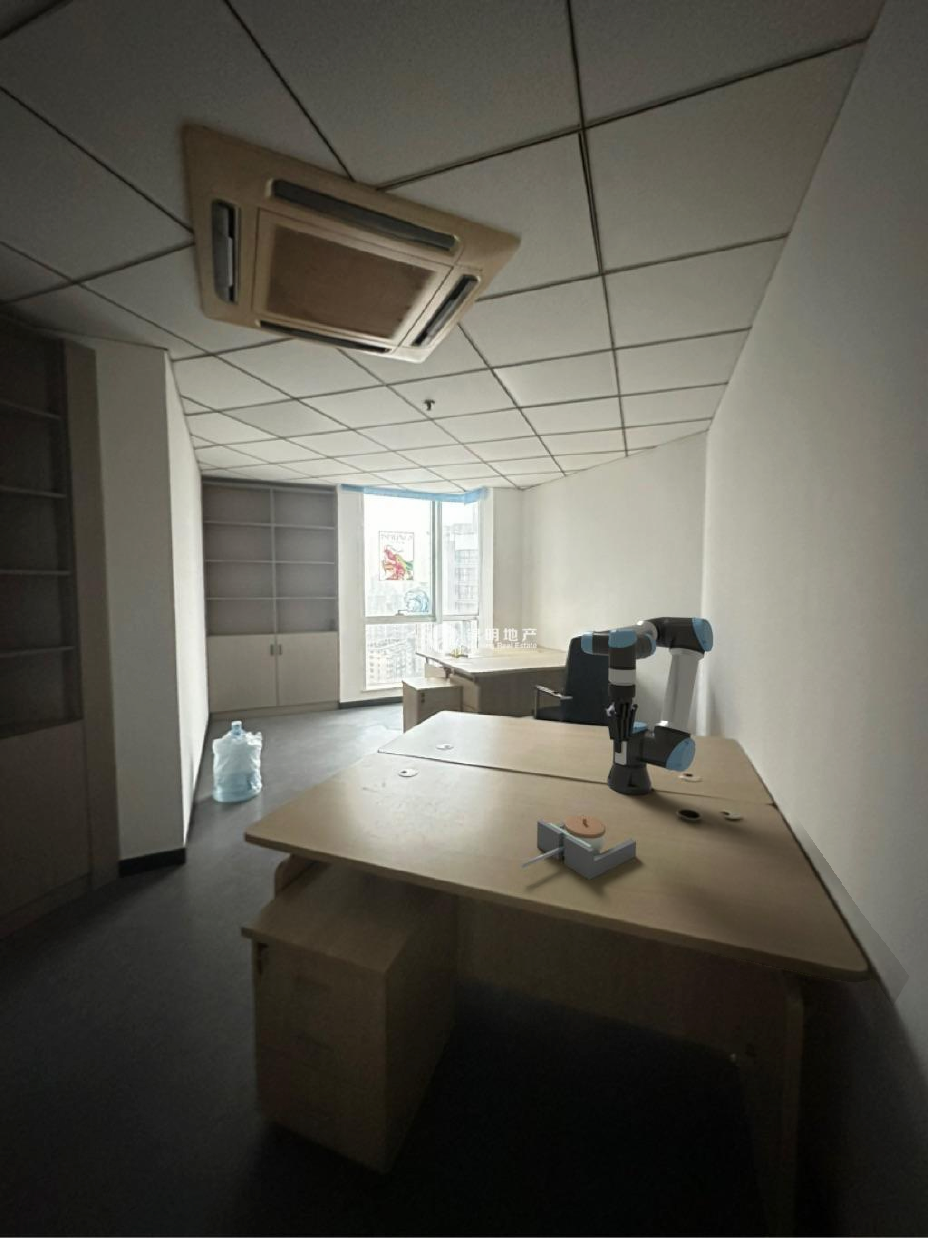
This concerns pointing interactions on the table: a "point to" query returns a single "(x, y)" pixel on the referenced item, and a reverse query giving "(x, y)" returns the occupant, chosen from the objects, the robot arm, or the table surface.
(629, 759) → the robot arm
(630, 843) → the grey fixture frame
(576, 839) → the pusher
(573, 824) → the lidded jar
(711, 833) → the table surface
